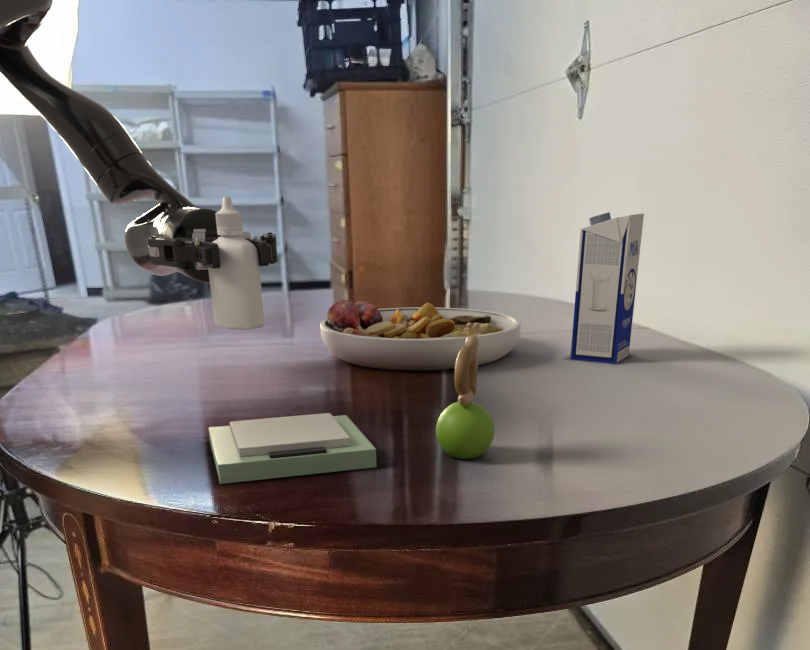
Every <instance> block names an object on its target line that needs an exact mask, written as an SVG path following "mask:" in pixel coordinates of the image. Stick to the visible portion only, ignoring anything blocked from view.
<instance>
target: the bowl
mask: <svg viewBox="0 0 810 650" xmlns="http://www.w3.org/2000/svg"><path fill="white" fill-rule="evenodd" d="M469 322H471V323H472V325H473V326H472V328H470V336H471V335H474V336H476V328H475V327H474V324H475V323H476V322H477V323H479V324H480V326H479V328H477V338H478V340H479V346H478V366H481V365H486V364H490V363H492V362H494V361H497V360H499V359H502V357H505V356H506V355H507V354H509V353H510V352H511V351H512V350H513V349H514V348H515V346H516V345H517V343H518V341H519V338H520V335H521V324H522V323H521V321H520V319H518V318H516V317H515V316H512V315H509V314H505V313H500V312H495V311H490V310H489V311H488V310H483V309H481V310H480V309H474V308H457V307H435V306H434V305H433V304H432V303H430V302H425V304H423V305H422V306H421V307H420V306H419V307H415V306H414V307H391V308H377V306H376V305H374V304H373V303H371V302H369V301H362V300H361V301H357V302H355V303H354V302H353V301H351V300H347V299H340V300H338V301H336V302H334V303H333V304H332V305H331V306H330V307H329V308H328V309H327V313H326V318H324V319H323V320H322V321H321V322H320V324H319V329H320V336H321V340H322V342H323V345H324V346H325V348H326V349H327V350H328V351H329V352H330V354H332V355H333V356H335V357H336V358H338V359H339V360H341V361H344V362H346V363H349V364H353V365H354V366H355V365H356V366H360V367H365V368H372V369H378V370H379V369H380V370H390V371H391V370H392V371H412V372H413V371H416V372H417V371H418V372H419V371H421V372H422V371H425V372H426V371H445V370H446V371H447V370H455V363H456V359H457V356H458V353H459V352H460V350H461V349H462V348H464V347H466V346H465V341H466V339H467V338H468V337H469V328H468V327H467V323H469Z"/></svg>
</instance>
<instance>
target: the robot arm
mask: <svg viewBox="0 0 810 650" xmlns="http://www.w3.org/2000/svg"><path fill="white" fill-rule="evenodd" d="M53 2H54V1H53V0H0V74H1V75H2V76H3V77H4V78H5V79H6V80H7V82H8V83H9V84H10V85H11V86H12V87H13V88H14V89H15V90H16V91H17V92H18V93H19V94H20V96H22V98H24V99H25V101H27V102H28V103H29V104H30V106H32V107H33V109H34V110H35V111H37V113H39V115H40V116H41V117H42V118H43V119H44V120H45V121H46V122H47V123H48V124H49V126H51V128H52V129H53V130H54V131H55V132H56V133H57V135H58V136H59V137H60V138H61V139H62V140H63V142H64V143H65V144H66V146H67V147H68V148H69V150H70V151H71V152H72V153H73V155H74V156H75V157H76V159H77V160H78V162H79V163H80V164H81V165H82V167H83V168H84V170H85V171H86V172H87V174H88V175H89V176H90V178H91V179H92V181H93V182H94V183H95V185H96V186H97V188H98V189H99V190H100V192H101V193H102V194H103V195H104V197H105V198H106V199H107V200H108V201H109V202H110V203H111V204H113V205H115V206H123V205H126V204H129V203H132V202H136V201H139V200H149V201H153V202H154V203H157V205H156V206H154V207H153V208H151V209H150V210H148V211H147V212H145V213H143V214H142V215H141V216H139V217H136V219H135V220H132V222H130V223H129V224H128V225H127V227H126V229H125V232H124V244H125V248H126V250H127V252H128V254H129V256H130V257H131V258H132V260H133V261H134V262H135V263H136V265H137V266H138V267H140V268H141V269H142V270H144V271H145V272H146V273H149V274H150V275H154V276H158V277H159V276H160V277H164V276H169V275H171V274H175V273H179V274H181V275H183V276H185V277H187V278H190V279H192V280H195V281H197V282H201V283H205V284H206V283H207V284H208V283H209V284H210V280H209V271H208V267H209V268H211V269H218V268H220V256H219V247H218V244H217V243H213V241H214V240H216V239H218V238H219V237H221V235H218V234H217V225H216V215H215V214H216V213H217V212H218V211H217V210H214V209H211V208H204V207H197V206H196V205H195V204H194V203H193V202H192V201H190V200H189V199H188V198H187V197H186V196H185V195H184V194H182V193H181V192H180V191H179V190H177V189H176V188H175V187H174V186H173V185H171V184H170V183H169V181H167V180H166V179H165V178H164V177H163V176H162V175H161V174H160V173H159V172H158V171H157V169H155V168H154V167H153V166H152V165H151V163H150V162H149V161H148V160H147V157H145V155H144V154H143V152H142V151H141V150H140V148H139V147H138V145H137V144H136V142H135V141H134V140H133V138H132V137H131V135H130V134H129V132H128V131H127V130H126V129H125V127H124V126H123V124H122V123H121V122H120V121H119V119H117V117H116V116H115V115H114V114H113V113H112V112H111V111H109V109H107V108H106V107H104V106H103V105H102V104H101V103H99V102H97V101H96V100H95V99H94V100H93V99H92V98H90V97H88V96H86V95H85V94H83V93H80V92H78V91H76V90H75V89H73V88H72V87H71V88H70V87H69V86H67V85H65V84H63V83H62V82H61V81H59V80H57V79H56V78H54V77H53V76H51V74H49V73H48V72H47V71H46V70H45V69H44V68H43V67H42V66H41V64H40V63H39V62H38V60H37V59H36V57H35V56H34V55H33V53H32V51H31V50H30V48H29V46H28V43H29V42H30V40H31V39H32V37H33V36H34V35H35V33H36V32H37V31H38V29H39V28H40V26H41V25H42V24H43V22H44V21H45V19H47V17H48V15H49V13H50V10H51V8H52V5H53ZM240 236H242V237H243V238H244V239H246V240H248V241H249V242H251V243H252V244H253V245H254V246H255V247H256V249H257V251H258V258H259V267H268V266H269V265H274V264H275V263H278V262H279V258H278V248H277V247H278V246H277V245H278V244H277V235H276V233H273V232H267V233H264V234H260V235H259V237H258V236H257V235H254V236H253V235H252V236H251V234H250V232H249V231H247V230H246V231H245V230H243V234H242V235H240Z"/></svg>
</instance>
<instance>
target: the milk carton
mask: <svg viewBox="0 0 810 650" xmlns="http://www.w3.org/2000/svg"><path fill="white" fill-rule="evenodd" d="M644 219H645V213H636V214H630V215H625V216H618V217H614V218H612V217H611V212H610V211H608V212H604V213H601V214H599V215H595V216H592V217H589V223H590V225H589V226H585V227H582V228H580V231H579V242H578V243H579V245H578V256H577V257H578V258H577V271H576V283H575V296H574V309H573V319H572V321H573V323H572V333H571V334H572V335H571V348H570V360H573V361H581V362H582V361H584V362H592V363H604V364H615V365H616V364H618V363H620V362H622V360H624V359H626V358H627V357H629V355H630V347H631V337H632V329H633V328H632V327H633V318H634V309H635V301H636V291H637V282H638V274H639V273H638V272H639V263H640V255H641V254H640V253H641V244H642V236H643V226H644Z"/></svg>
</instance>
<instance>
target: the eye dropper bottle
mask: <svg viewBox="0 0 810 650" xmlns="http://www.w3.org/2000/svg"><path fill="white" fill-rule="evenodd" d="M215 215H216V225H217V234H218V235H221V237H219V238H218V239H216V240H214V241H213V243H217V244H218V247H219V256H220V268H218V269H211V268H209V267H208V271H209V280H210V283H209V287H210V297H211V298H210V299H211V305H212V316H213V322H214V324H215V325H216V326H217V327H218V328H219V327H220V328H223V329H227V330H236V331H237V330H238V331H239V330H240V331H249V330H256V329H260V328H263V327H264V326H265V315H264V302H263V291H262V290H263V289H262V280H261V269H260V266H259V258H258V251H257V249H256V247H255V246H254V245H253V244H252V243H251V242H249V241H248V240H246V239H244V238H243V237H242V236H240V235H242V234H243V231H244V227H243V218H242V213H241V212H240V211H238V210H237V209H236V208H234V205H233V201H232V198H231V196H223V197H222V204H221V209H220V210H218V211H217V213H216V214H215Z"/></svg>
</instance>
